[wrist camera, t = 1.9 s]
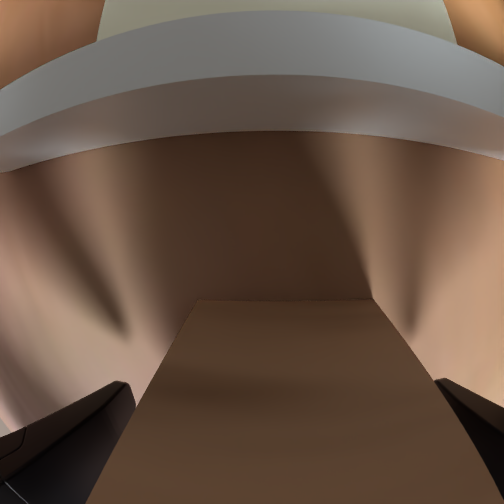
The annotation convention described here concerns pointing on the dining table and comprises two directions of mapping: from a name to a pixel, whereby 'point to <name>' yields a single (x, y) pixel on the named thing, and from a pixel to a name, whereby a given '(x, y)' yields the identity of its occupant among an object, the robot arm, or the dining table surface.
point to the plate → (343, 3)
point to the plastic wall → (255, 86)
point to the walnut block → (293, 415)
